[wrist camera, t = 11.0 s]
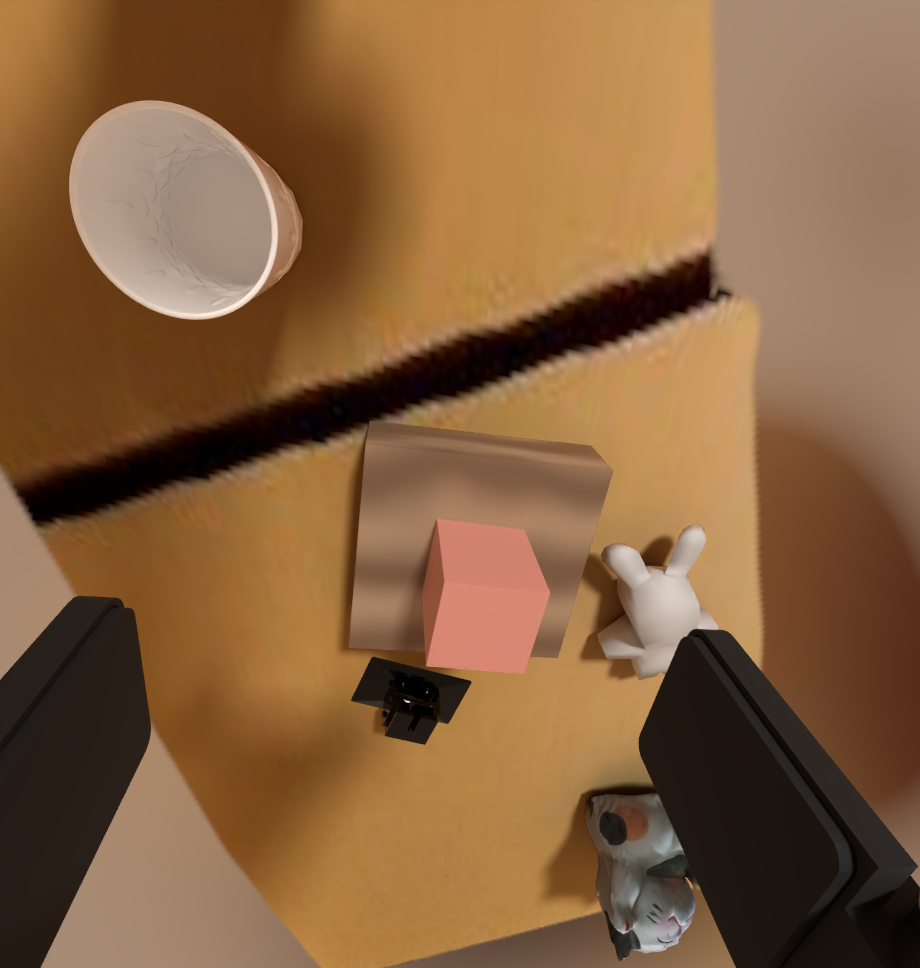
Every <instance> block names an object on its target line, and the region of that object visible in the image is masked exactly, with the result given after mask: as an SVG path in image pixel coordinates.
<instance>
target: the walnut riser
mask: <svg viewBox="0 0 920 968" xmlns="http://www.w3.org/2000/svg"><path fill="white" fill-rule="evenodd" d="M612 473H613V470H612V469H611V467H610V466H609V465H608V464H607V463H606V462H605V461H604V460H603V459H602V457H601V456H600V455H599V454H598V453H597V452H596V451H595V450H594V448H593V447H592V446H588V445H579V444H570V443H562V442H553V441H544V440H535V439H526V438H517V437H509V436H500V435H491V434H482V433H473V432H464V431H455V430H447V429H438V428H429V427H420V426H411V425H402V424H394V423H385V422H376V421H370V422H369V428H368V433H367V439H366V445H365V457H364V469H363V481H362V493H361V505H360V517H359V529H358V541H357V553H356V565H355V577H354V589H353V601H352V613H351V625H350V637H349V648H359V649H379V650H400V651H421V652H425V639H424V620H423V602H422V590H423V586H424V581H425V576H426V571H427V566H428V561H429V556H430V551H431V546H432V541H433V536H434V531H435V526H436V521H437V519H443V520H451V521H459V522H467V523H475V524H483V525H491V526H499V527H507V528H515V529H523V530H525V533H526V535H527V538H528V540H529V542H530V545H531V547H532V550H533V552H534V555H535V557H536V559H537V562H538V564H539V567H540V569H541V572H542V574H543V576H544V579H545V581H546V584H547V586H548V588H549V591H550V595H549V599H548V602H547V605H546V608H545V611H544V614H543V617H542V620H541V623H540V626H539V630H538V633H537V636H536V639H535V642H534V645H533V648H532V651H531V654H530V657H545V658H558V656H559V652H560V649H561V645H562V642H563V639H564V635H565V632H566V629H567V625H568V622H569V618H570V615H571V612H572V608H573V605H574V602H575V598H576V595H577V591H578V588H579V585H580V581H581V578H582V575H583V571H584V568H585V564H586V561H587V558H588V554H589V551H590V548H591V544H592V541H593V537H594V534H595V531H596V527H597V524H598V520H599V517H600V514H601V510H602V507H603V504H604V500H605V497H606V493H607V490H608V487H609V483H610V480H611V477H612Z"/></svg>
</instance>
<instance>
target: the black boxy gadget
mask: <svg viewBox="0 0 920 968" xmlns="http://www.w3.org/2000/svg"><path fill="white" fill-rule="evenodd" d="M470 684H471V681H469V680H465V679H461V678H457V677H453V676H449V675H445V674H441V673H437V672H433V671H429V670H425V669H421V668H416V667H412V666H408V665H404V664H400V663H396V662H392V661H388V660H384V659H380V658H376V657H372V658H371V660H370V662H369V664H368V666H367V668H366V670H365V672H364V674H363V676H362V678H361V680H360V683H359V685H358V687H357V689H356V691H355V693H354V695H353V697H352V699H351V701H353V702H357V703H362V704H366V705H370V706H374V707H378V708H383V711H382V713H381V717H382V726H385V736H388V737H392V738H397V739H401V740H406V741H410V742H415V743H419V744H424V745H425V744H426V742H427V740H428V739H429V737H430V735H431V733H432V732H433V730H434V728H435V726H436V725H437V723H438V722H441V723H445V724H448V723H449V722H450V720H451V718H452V716H453V715H454V713H455V711H456V709H457V708H458V706H459V704H460V702H461V700H462V699H463V697H464V695H465V693H466V692H467V690H468V688H469V686H470Z"/></svg>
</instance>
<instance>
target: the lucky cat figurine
mask: <svg viewBox="0 0 920 968" xmlns="http://www.w3.org/2000/svg"><path fill="white" fill-rule="evenodd" d="M585 823H586V825H587V828H588V830H589V833H590V836H591V839H592V842H593V843H594V845H595V847H596V849H597V852H598V863H599V866H598V873H597V879H596V894H597V897H598V898H599V902H600V906H601V909H602V912H603V914H604V916H605V917H606V920H607V924H608V929H609V933H610V938H611V941H612V943H613V944H614V945H615V949H616V953H617V957H618V960H619V961H621V960H624V959H625V957H627V956H629V953H630V952H631V950H637V951H641V952H643V953H650V952H659V951H664V950H665V949H666V948H667V947H669V946H672V945H676V944H678V939H679V938H680V937H681V934H682V933H683V932H684V931H685V930H686V929H687V928H688V927H689V925H690V923H691V921H692V918H693V914H694V910H695V897H694V895H693V893H692V891H691V888H690V886H689V883H688V882H687V880H686V878H685V877H687V878H688V880H689V881H690V882H691V883H692V885H693V886H694V887H695V888H696V889H697V890H701V889H700V887H699V884H698V882H697V880H696V878H695V876H694V873H693V871H692V869H691V867H690V864H689V862H688V860H687V858H686V856H685V853H684V851H683V849H682V847H681V844H680V842H679V840H678V838H677V836H676V833H675V831H674V829H673V827H672V824H671V822H670V820H669V818H668V816H667V813H666V811H665V809H664V807H663V804H662V802H661V800H660V798H659V796H658V793H651V794H643V795H634V796H630V795H616V794H606V795H601V796H595V797H592V798H590V799H589V800H588V801H587V802H586V808H585Z"/></svg>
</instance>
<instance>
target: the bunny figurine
mask: <svg viewBox="0 0 920 968" xmlns="http://www.w3.org/2000/svg"><path fill="white" fill-rule="evenodd" d="M705 543H706V537H705V531H704V529H703V527H702V526H701V525H697V524H693V525H690V526H688V527H687V528H685V529H683V531H682V532H681V534H680V535H679V537H678V540H677V543H676V545H675V548H674V551H673V553H672V556H671V559H670V561H669V564H668V566H645V564H644V562H643V560H642V558H641V556H640V554H639V552H637V551H636V550H634V549H632V548H630V547H628V546H626V545H624V544H618V543H617V544H611V545H609V546H608V547H606V548H604V550H603V552H602V554H601V557H602V560H603V562H604V563H605V564H606V565H607V566H608V567H609V568H610V569H611V570H612V572H613V573H614V574H615V575H616V576H617V577H618V578H619V579H617V593H618V597H619V600H620V603H621V605H622V607H623V609H624V610H625V612H626V613H625V614H624V615H622V616H621V617H620V618H619V619H617V620H616V621H615V622H613V623H612V624H610V625H609V626H608V627H606V628H605V629H603V630H602V631H601V632H599V633H598V634H597V637H598V640H599V643H600V645H601V647H602V650H603V652H604V654H605V657H606V659H631V662H632V667H633V669H634V671H635V673H636V675H637V677H638V680H642V679H646V678H650V677H654V676H657V675H658V673H663V674H666V672H667V670H668V668H669V665H670V663H671V660H672V658H673V656H674V653H675V651H676V649H677V646H678V644H679V642H680V640H681V639H682V638H683V637H686V636H687V635H688V634H689V632H690V631H692V630H693V629H710V630H718V628H719V627H718V626H717V624H716V623H715V621H714V620H713V619H712V617H711V616H710V614H709V613H708V612H707V610H706V609H705V608H701V607H699V602H698V600H697V598H696V596H695V593H694V591H693V589H692V586H691V584H690V582H689V579H688V577H687V575H686V574H687V573H688V571H689V570H690V568H691V567H692V565H693V564H694V562H695V560H696V559H697V557H698V556H699V554H700V553H701V551H702V550H703V548H704V545H705Z"/></svg>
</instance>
